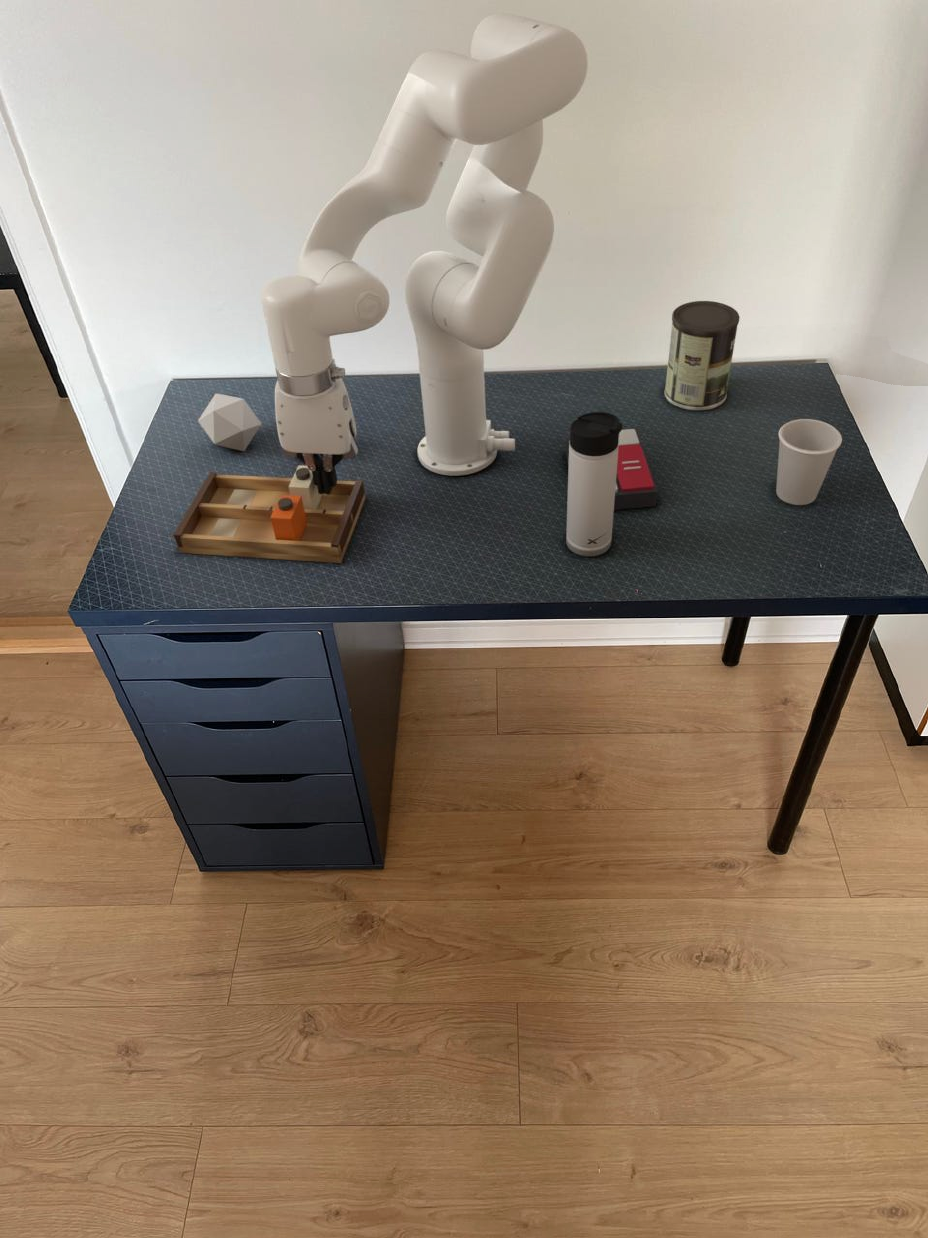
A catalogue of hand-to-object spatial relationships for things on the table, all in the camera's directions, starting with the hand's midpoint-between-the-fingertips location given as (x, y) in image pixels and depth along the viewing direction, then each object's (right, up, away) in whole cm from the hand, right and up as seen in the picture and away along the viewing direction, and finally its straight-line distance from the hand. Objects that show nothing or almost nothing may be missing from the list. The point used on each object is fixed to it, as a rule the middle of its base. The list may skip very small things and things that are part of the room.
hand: (326, 488), depth 135 cm
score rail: (-8, -5, +2) cm, 10 cm away
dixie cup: (+68, -1, +1) cm, 68 cm away
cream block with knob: (-3, -2, +3) cm, 5 cm away
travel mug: (+37, -8, -5) cm, 39 cm away
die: (-18, +10, +18) cm, 27 cm away
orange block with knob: (-5, -7, -2) cm, 8 cm away
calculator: (+42, +2, +6) cm, 42 cm away
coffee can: (+58, +19, +21) cm, 65 cm away
